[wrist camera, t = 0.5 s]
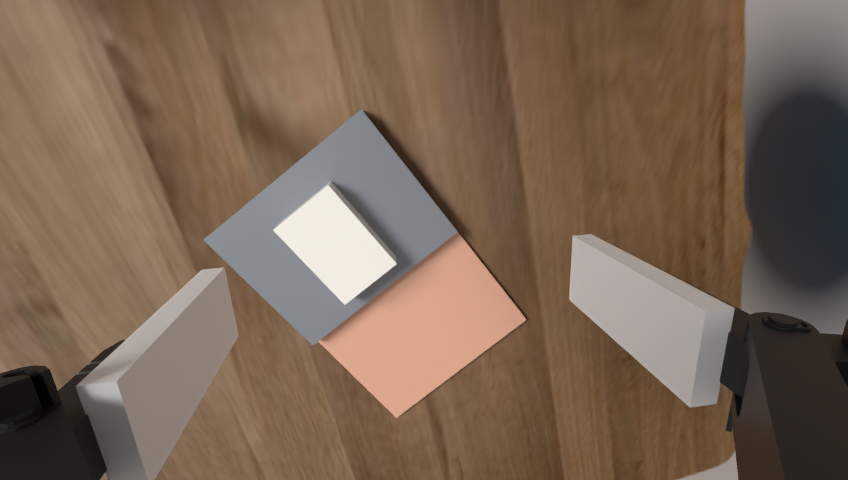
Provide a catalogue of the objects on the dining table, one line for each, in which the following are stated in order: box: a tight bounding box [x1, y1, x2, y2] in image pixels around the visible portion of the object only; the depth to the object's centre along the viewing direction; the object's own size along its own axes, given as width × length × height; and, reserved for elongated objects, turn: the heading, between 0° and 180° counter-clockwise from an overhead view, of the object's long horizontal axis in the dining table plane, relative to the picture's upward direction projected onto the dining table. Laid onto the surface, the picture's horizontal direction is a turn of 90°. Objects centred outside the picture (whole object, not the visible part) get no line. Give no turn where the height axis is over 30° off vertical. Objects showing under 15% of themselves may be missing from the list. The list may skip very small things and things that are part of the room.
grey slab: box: [204, 109, 458, 345], centre depth 38 cm, size 14×18×2 cm
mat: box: [318, 232, 526, 418], centre depth 43 cm, size 13×18×1 cm
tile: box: [273, 181, 397, 305], centre depth 36 cm, size 9×6×2 cm, turn 38°
